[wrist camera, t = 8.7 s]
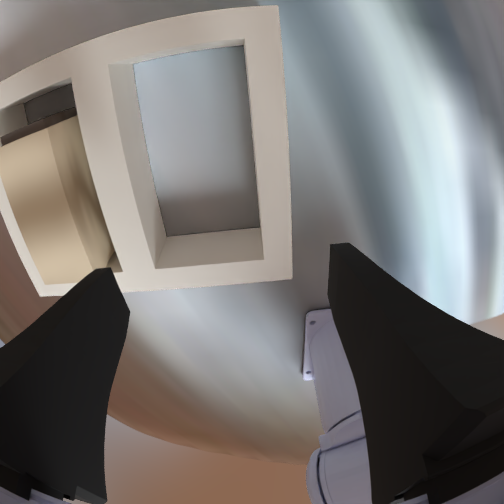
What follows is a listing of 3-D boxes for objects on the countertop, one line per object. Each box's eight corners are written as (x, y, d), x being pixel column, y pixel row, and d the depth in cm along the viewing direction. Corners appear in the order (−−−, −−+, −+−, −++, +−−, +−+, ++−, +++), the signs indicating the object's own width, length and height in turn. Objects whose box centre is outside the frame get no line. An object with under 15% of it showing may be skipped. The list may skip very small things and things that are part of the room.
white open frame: (284, 245, 20) (292, 279, 17) (59, 266, 20) (40, 296, 18) (270, 18, 12) (278, 5, 10) (5, 90, 13) (-29, 100, 10)
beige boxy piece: (123, 234, 19) (97, 281, 15) (76, 240, 19) (45, 284, 15) (90, 102, 14) (45, 118, 10) (39, 119, 15) (-9, 141, 10)
